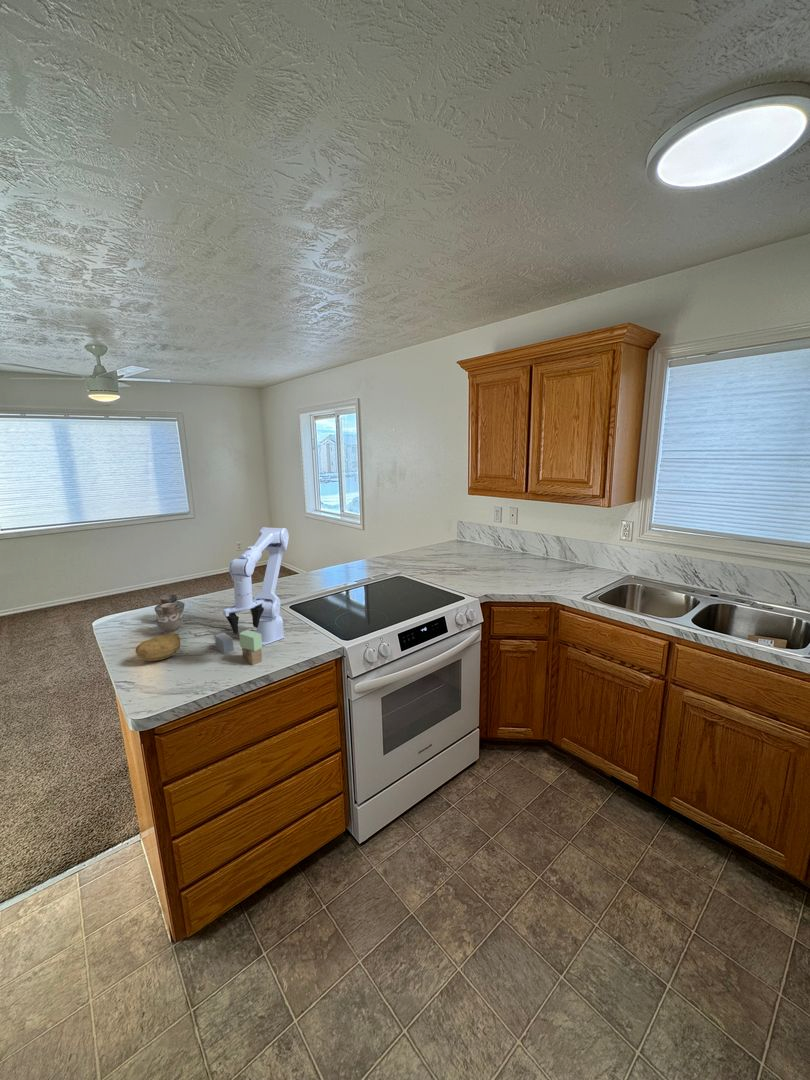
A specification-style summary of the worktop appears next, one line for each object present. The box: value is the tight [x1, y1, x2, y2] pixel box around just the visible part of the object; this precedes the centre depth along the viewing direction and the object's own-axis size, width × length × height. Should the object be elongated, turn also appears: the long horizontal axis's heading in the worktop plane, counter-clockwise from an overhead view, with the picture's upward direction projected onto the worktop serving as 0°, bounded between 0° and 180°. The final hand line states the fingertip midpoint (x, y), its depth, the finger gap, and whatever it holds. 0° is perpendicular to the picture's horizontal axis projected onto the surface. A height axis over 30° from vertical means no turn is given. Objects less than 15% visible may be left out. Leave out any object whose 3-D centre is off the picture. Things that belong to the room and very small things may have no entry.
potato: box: [135, 633, 181, 662], centre depth 152 cm, size 10×14×8 cm
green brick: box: [238, 629, 263, 652], centre depth 151 cm, size 7×4×5 cm, turn 61°
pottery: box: [154, 593, 185, 635], centre depth 179 cm, size 11×25×12 cm, turn 29°
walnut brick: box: [241, 647, 263, 666], centre depth 152 cm, size 7×4×5 cm, turn 47°
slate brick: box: [214, 632, 235, 654], centre depth 160 cm, size 7×4×5 cm, turn 47°
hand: (245, 630), depth 153 cm, fingers open, 7 cm apart
